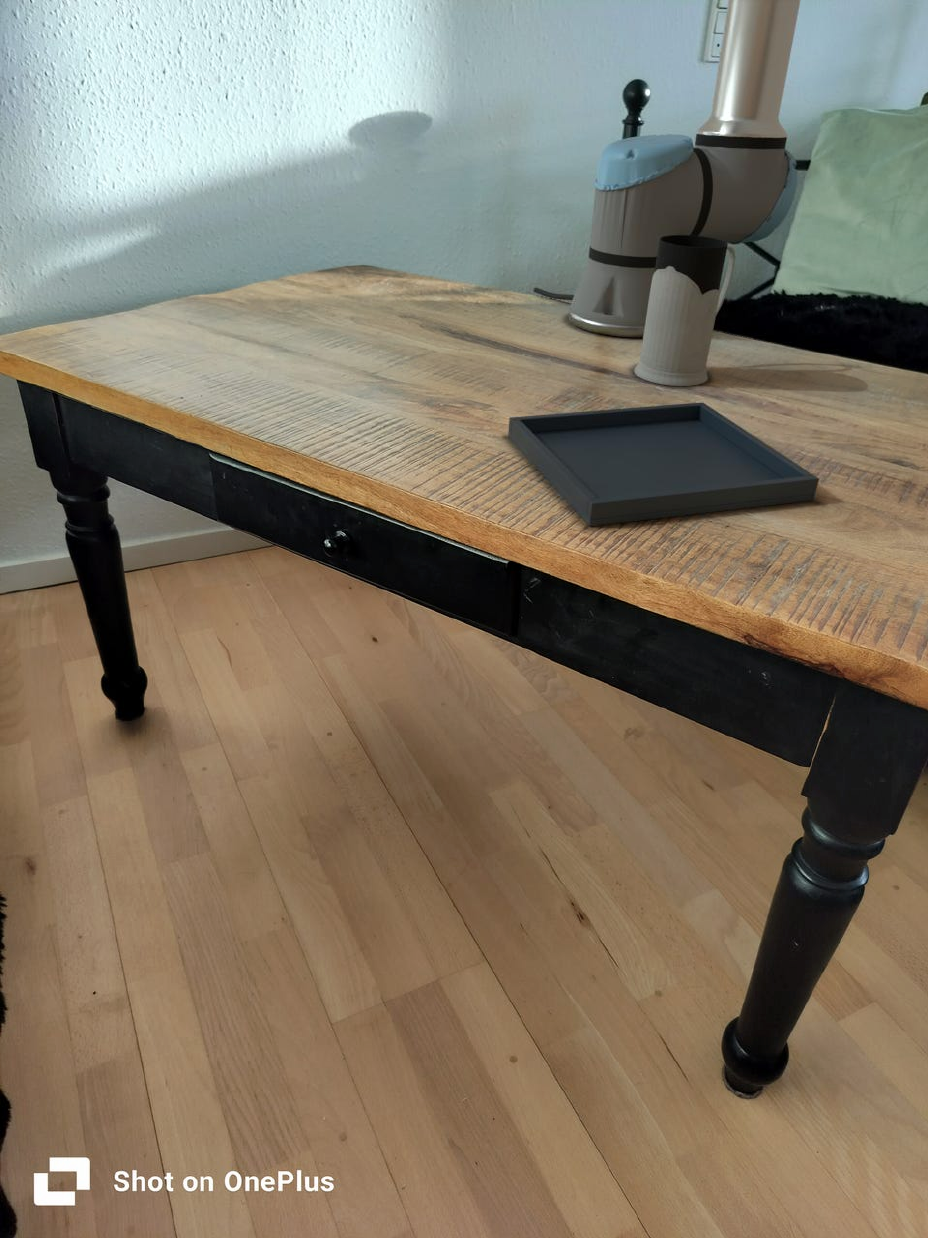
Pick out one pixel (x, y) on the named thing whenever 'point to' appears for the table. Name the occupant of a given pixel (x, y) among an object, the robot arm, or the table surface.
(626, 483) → the tray
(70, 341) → the table surface
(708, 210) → the robot arm
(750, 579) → the table surface
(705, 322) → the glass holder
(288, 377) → the table surface
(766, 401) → the table surface
